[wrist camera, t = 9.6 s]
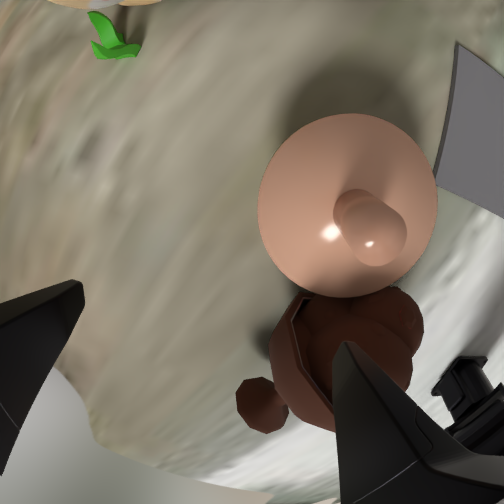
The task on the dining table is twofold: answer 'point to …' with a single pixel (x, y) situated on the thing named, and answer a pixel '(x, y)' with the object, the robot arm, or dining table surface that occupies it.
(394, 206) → the lid
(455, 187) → the mat
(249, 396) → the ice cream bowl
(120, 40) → the kitten
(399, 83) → the dining table surface
